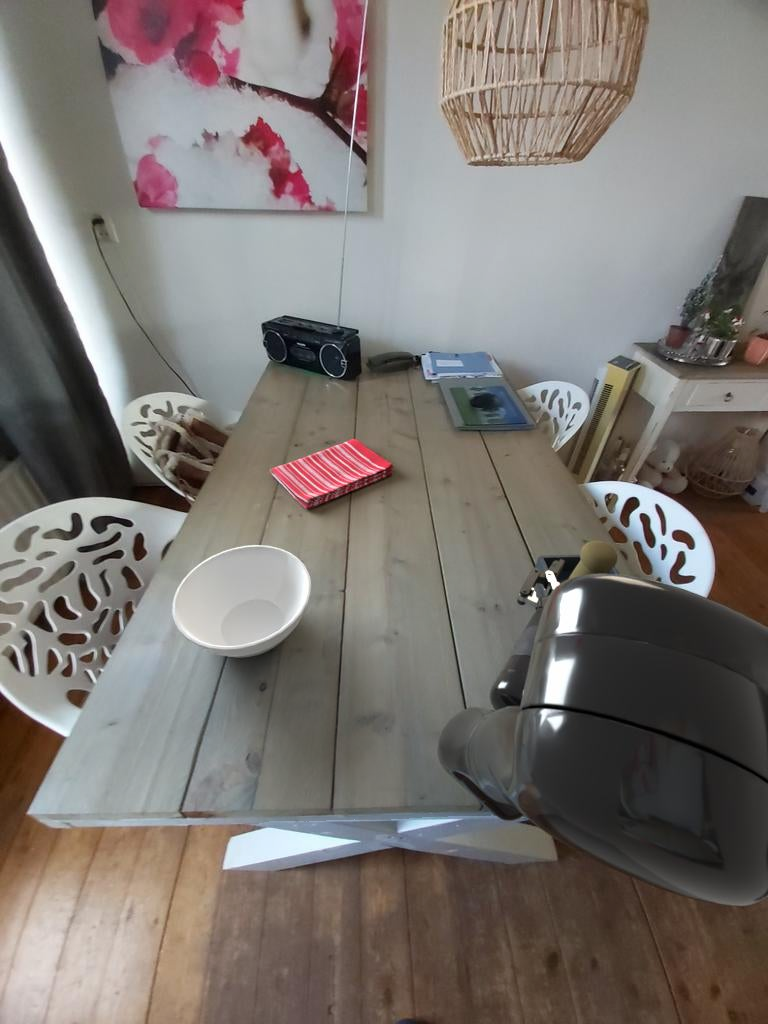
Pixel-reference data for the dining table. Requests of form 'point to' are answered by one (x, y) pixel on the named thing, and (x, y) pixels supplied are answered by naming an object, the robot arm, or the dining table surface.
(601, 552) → the cork
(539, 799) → the robot arm
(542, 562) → the square tray
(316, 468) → the dish towel
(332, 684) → the dining table surface
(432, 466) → the dining table surface
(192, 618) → the bowl
